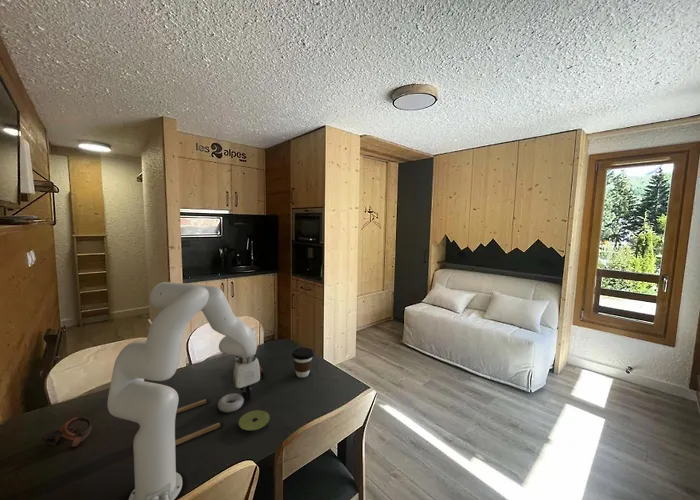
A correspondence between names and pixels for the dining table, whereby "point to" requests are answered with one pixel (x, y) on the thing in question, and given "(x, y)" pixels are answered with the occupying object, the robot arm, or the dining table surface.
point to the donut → (225, 403)
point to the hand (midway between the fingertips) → (246, 398)
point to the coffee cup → (302, 361)
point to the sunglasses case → (261, 372)
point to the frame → (199, 430)
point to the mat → (254, 420)
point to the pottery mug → (68, 433)
